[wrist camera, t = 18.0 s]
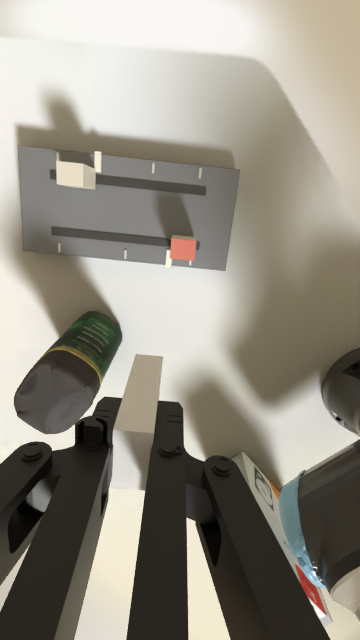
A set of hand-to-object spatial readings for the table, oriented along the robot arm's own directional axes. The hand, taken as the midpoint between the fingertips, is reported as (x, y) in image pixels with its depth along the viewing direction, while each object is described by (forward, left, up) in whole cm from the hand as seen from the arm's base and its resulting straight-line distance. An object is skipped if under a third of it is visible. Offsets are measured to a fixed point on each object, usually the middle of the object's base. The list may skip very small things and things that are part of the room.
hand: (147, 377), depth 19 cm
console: (+6, -8, -32) cm, 34 cm away
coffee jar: (+11, +12, -33) cm, 36 cm away
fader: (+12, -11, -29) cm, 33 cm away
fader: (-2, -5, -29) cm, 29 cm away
